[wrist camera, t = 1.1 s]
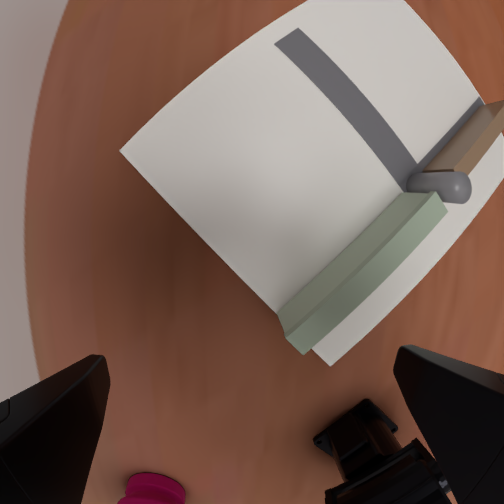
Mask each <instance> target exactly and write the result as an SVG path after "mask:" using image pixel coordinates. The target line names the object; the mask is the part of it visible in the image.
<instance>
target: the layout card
mask: <svg viewBox="0 0 504 504" xmlns="http://www.w3.org/2000/svg"><path fill="white" fill-rule="evenodd" d="M503 129H504V100H502V101H498V102H494V103H490V104H486V105H485V103H484V102H483V100H482V98H481V97H480V95H479V94H478V92H477V91H476V89H475V87H474V86H473V84H472V83H471V82H470V80H469V79H468V77H467V76H466V74H465V73H464V71H463V70H462V69H461V67H460V66H459V65H458V63H457V62H456V60H455V59H454V58H453V56H452V55H451V54H450V53H449V51H448V50H447V49H446V47H445V46H444V45H443V44H442V42H441V41H440V40H439V39H438V38H437V36H436V35H435V34H434V33H433V32H432V30H431V29H430V28H429V27H428V26H427V25H426V24H425V22H424V21H423V20H422V19H421V18H420V17H419V16H418V15H417V14H416V12H415V11H414V10H413V9H412V8H411V7H410V6H409V5H408V4H407V3H406V2H405V1H404V0H308V1H306V2H304V3H303V4H301V5H299V6H298V7H296V8H294V9H293V10H291V11H289V12H288V13H286V14H285V15H283V16H281V17H280V18H278V19H277V20H275V21H274V22H272V23H271V24H269V25H268V26H266V27H265V28H263V29H262V30H260V31H259V32H257V33H256V34H254V35H253V36H251V37H250V38H249V39H247V40H246V41H244V42H243V43H242V44H240V45H239V46H237V47H236V48H235V49H233V50H232V51H231V52H229V53H228V54H227V55H225V56H224V57H223V58H221V59H220V60H219V61H218V62H216V63H215V64H214V65H213V66H211V67H210V68H209V69H208V70H206V71H205V72H204V73H203V74H201V75H200V76H199V77H198V78H196V79H195V80H194V81H193V82H192V83H191V84H189V85H188V86H187V87H186V88H185V89H183V90H182V91H181V92H180V93H179V94H178V95H177V96H175V97H174V98H173V99H172V100H171V101H170V102H169V103H168V104H167V105H165V106H164V107H163V108H162V109H161V110H160V111H159V112H158V113H157V114H156V115H155V116H154V117H153V118H152V119H150V120H149V121H148V122H147V123H146V124H145V125H144V126H143V127H142V128H141V129H140V130H139V131H138V132H137V133H136V134H135V135H134V136H133V137H132V138H131V139H130V140H129V141H128V142H127V143H126V144H125V145H124V146H123V147H122V149H121V150H120V152H121V153H122V154H123V155H124V156H125V158H126V159H127V160H128V161H129V162H130V163H131V164H132V165H133V166H134V167H135V168H136V169H137V170H138V172H139V173H140V174H141V175H142V176H143V177H144V178H145V179H146V180H147V181H148V182H149V183H150V184H151V185H152V187H153V188H154V189H155V190H156V191H157V192H158V193H159V194H160V195H161V196H162V197H163V198H164V199H165V200H166V201H167V202H168V203H169V205H170V206H171V207H172V208H173V209H174V210H175V211H176V212H177V213H178V214H179V215H180V216H181V217H182V218H183V219H184V220H185V221H186V222H187V223H188V224H189V225H190V227H191V228H192V229H193V230H194V231H195V232H196V233H197V234H198V235H199V236H200V237H201V238H202V239H203V240H204V241H205V242H206V243H207V244H208V245H209V246H210V247H211V248H212V249H213V250H214V251H215V252H216V253H217V254H218V255H219V256H220V257H221V259H222V260H223V261H224V262H225V263H226V264H227V265H228V266H229V267H230V268H231V269H232V270H233V271H234V272H235V273H236V274H237V275H238V276H239V277H240V278H241V279H242V280H243V281H244V282H245V283H246V284H247V285H248V286H249V287H250V288H251V289H252V290H253V291H254V292H255V293H256V294H257V295H258V296H259V297H260V298H261V299H262V300H263V301H264V302H265V303H266V304H267V305H268V306H269V307H270V308H271V309H272V310H273V311H274V312H275V313H276V314H277V312H278V311H279V310H281V309H282V308H283V307H284V306H285V305H286V304H287V303H288V302H289V301H291V300H292V299H293V298H294V297H295V296H296V295H297V294H298V293H299V292H301V291H302V290H303V289H304V288H305V287H306V286H307V285H308V284H309V283H310V282H311V281H313V280H314V279H315V278H316V277H317V276H318V275H319V274H320V273H321V272H322V271H323V270H324V269H325V268H326V267H328V266H329V265H330V264H331V263H332V262H333V261H334V260H335V259H336V258H337V257H338V256H339V255H340V254H341V253H342V252H343V251H344V250H345V249H346V248H347V247H349V246H350V245H351V244H352V243H353V242H354V241H355V240H356V239H357V238H358V237H359V236H360V235H361V234H362V233H363V232H364V231H365V230H366V229H367V228H368V227H369V226H370V225H371V224H372V223H373V222H374V221H375V220H376V219H377V218H378V217H379V216H380V215H381V214H382V213H383V212H384V211H385V210H386V209H387V208H388V207H389V206H390V205H391V204H392V203H393V202H394V201H395V200H396V199H397V198H398V197H399V196H400V195H401V194H402V193H403V192H407V193H429V192H430V191H436V192H437V194H438V195H439V197H440V199H441V200H442V202H443V204H444V205H445V207H446V209H447V210H448V212H447V214H446V215H445V216H444V217H443V218H442V219H441V221H440V222H439V223H438V224H437V225H436V226H435V227H434V229H433V230H432V231H431V232H430V233H429V234H428V235H427V236H426V238H425V239H424V240H423V241H422V242H421V243H420V244H419V245H418V246H417V247H416V248H415V250H414V251H413V252H412V253H411V254H410V255H409V256H408V257H407V258H406V259H405V260H404V261H403V262H402V263H401V264H400V265H399V266H398V267H397V268H396V269H395V270H394V272H393V273H392V274H391V275H390V276H389V277H388V278H387V279H386V280H385V281H384V282H383V283H382V284H381V285H380V286H379V287H378V288H377V289H376V290H375V291H373V292H372V293H371V294H370V295H369V296H368V297H367V298H366V299H365V300H364V301H363V302H362V303H361V304H360V305H359V306H358V307H357V308H356V309H355V310H354V311H353V312H351V313H350V314H349V315H348V316H347V317H346V318H345V319H344V320H343V321H342V322H341V323H340V324H338V325H337V326H336V327H335V328H334V329H333V330H332V331H331V332H329V333H328V334H327V335H326V336H325V337H324V338H323V339H322V340H320V341H319V342H318V343H317V344H316V345H315V346H313V347H312V348H311V349H313V350H314V351H315V352H316V353H317V354H318V355H319V356H320V357H321V358H322V359H323V360H324V361H325V362H326V363H327V364H328V365H329V366H331V365H333V364H334V363H335V362H336V361H337V360H338V359H340V358H341V357H342V356H343V355H344V354H345V353H346V352H348V351H349V350H350V349H351V348H352V347H353V346H354V345H355V344H357V343H358V342H359V341H360V340H361V339H362V338H363V337H364V336H365V335H366V334H367V333H369V332H370V331H371V330H372V329H373V328H374V327H375V326H376V325H377V324H378V323H379V322H380V321H381V320H382V319H383V318H384V317H385V316H386V315H387V314H388V313H389V312H390V311H391V310H392V309H393V308H394V307H395V306H396V305H397V304H398V303H399V302H400V301H401V300H402V299H403V298H404V297H405V296H406V295H407V294H408V293H409V292H410V291H411V290H412V289H413V288H414V287H415V286H416V285H417V284H418V283H419V282H420V281H421V280H422V278H423V277H424V276H425V275H426V274H427V273H428V272H429V271H430V270H431V269H432V267H433V266H434V265H435V264H436V263H437V262H438V261H439V260H440V258H441V257H442V256H443V255H444V254H445V253H446V252H447V250H448V249H449V248H450V247H451V246H452V245H453V243H454V242H455V241H456V240H457V239H458V237H459V236H460V235H461V234H462V232H463V231H464V230H465V229H466V227H467V226H468V225H469V224H470V222H471V221H472V220H473V219H474V217H475V216H476V215H477V214H478V212H479V211H480V210H481V208H482V207H483V206H484V204H485V203H486V202H487V200H488V199H489V198H490V196H491V195H492V193H493V192H494V191H495V189H496V188H497V186H498V185H499V184H500V182H501V181H502V179H503V178H504V136H503V135H502V133H501V132H502V130H503Z"/></svg>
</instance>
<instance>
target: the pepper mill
mask: <svg viewBox="0 0 504 504" xmlns="http://www.w3.org/2000/svg"><path fill="white" fill-rule="evenodd" d="M125 494H126V496H125V497H123V498H122V499H121V500H120V501H119V502H118V503H117V504H185V491H184V489H183V487H182V486H181V485H180V484H179V483H178V482H176V481H174V480H172V479H171V478H168V477H166V476H163V475H159V474H155V473H140V474H136V475H134V476H132V477H131V478H130V479H129V481H128V484H127V487H126V491H125Z"/></svg>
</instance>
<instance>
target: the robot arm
mask: <svg viewBox="0 0 504 504" xmlns="http://www.w3.org/2000/svg"><path fill="white" fill-rule="evenodd" d="M393 372H394V376H395V378H396V380H397V383H398V385H399V387H400V390H401V392H402V395H403V397H404V399H405V402H406V404H407V406H408V409H409V410H410V412H411V414H412V416H413V418H414V420H415V422H416V423H417V425H418V427H419V429H420V431H421V433H422V435H423V436H424V438H425V440H426V442H427V444H428V446H429V448H430V450H431V451H432V453H433V455H434V457H435V459H436V460H435V459H434V458H433V457H432V455H431V454H430V453H429V452H428V451H427V449H426V448H425V447H424V446H423V445H422V444H421V442H420V441H419V440H418V439H417V438H415V439H414V440H412V441H411V443H410V444H408V445H407V446H405V447H404V448H402V447H401V446H400V444H399V442H398V441H397V439H396V438H395V436H394V435H393V434H394V433H395V432H396V431H397V430H398V427H397V425H396V424H395V423H394V422H393V421H392V420H391V419H389V418H388V417H387V416H386V415H385V414H384V413H383V412H382V411H381V410H380V409H379V408H378V407H377V406H376V405H375V404H374V403H373V402H372V401H371V400H369V399H366V400H364V401H362V402H361V403H360V404H359V405H357V406H356V407H355V408H354V409H352V410H351V411H350V412H348V413H347V414H346V415H345V416H343V417H342V418H341V419H339V420H338V421H337V422H335V423H334V424H333V425H331V426H330V427H329V428H327V429H326V430H325V431H323V432H322V433H320V434H319V435H318V436H316V437H315V438H314V439H313V442H314V445H316V446H317V447H318V448H320V449H321V450H323V451H324V452H326V453H328V454H329V455H331V456H332V457H334V459H335V461H336V464H337V466H338V469H339V471H340V474H341V476H342V479H343V481H344V483H342V484H340V485H338V486H336V487H334V488H332V489H331V488H330V489H328V490H326V491H325V497H326V498H325V504H452V503H451V502H450V500H449V498H448V497H447V495H446V494H447V493H448V492H450V491H452V493H453V495H454V497H455V499H456V501H457V503H458V504H504V375H503V374H500V373H496V372H493V371H490V370H487V369H484V368H481V367H478V366H475V365H471V364H468V363H465V362H462V361H459V360H456V359H453V358H450V357H447V356H444V355H441V354H438V353H435V352H432V351H429V350H426V349H423V348H420V347H417V346H414V345H404V346H401V347H400V348H399V349H398V352H397V356H396V360H395V364H394V368H393ZM109 389H110V376H109V371H108V367H107V362H106V359H105V357H104V356H103V355H94V354H92V355H89V356H87V357H85V358H84V359H82V360H80V361H78V362H76V363H74V364H72V365H71V366H69V367H67V368H65V369H63V370H61V371H59V372H58V373H56V374H54V375H52V376H50V377H48V378H46V379H44V380H43V381H41V382H39V383H37V384H35V385H33V386H31V387H30V388H27V389H26V390H24V391H22V392H20V393H18V394H16V395H14V396H12V397H10V400H9V399H6V400H5V401H3V402H1V403H0V504H81V502H82V498H83V494H84V490H85V486H86V482H87V479H88V475H89V471H90V468H91V464H92V461H93V457H94V454H95V450H96V447H97V443H98V440H99V437H100V433H101V430H102V426H103V421H104V416H105V410H106V405H107V399H108V394H109ZM366 404H367V405H366ZM365 405H366V406H365ZM319 440H320V441H319Z"/></svg>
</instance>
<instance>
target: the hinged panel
mask: <svg viewBox="0 0 504 504" xmlns="http://www.w3.org/2000/svg"><path fill="white" fill-rule="evenodd" d="M447 212H448V210H447V209H446V207H445V205H444V204H443V202H442V200H441V199H440V197H439V195H438V194H437V192H436V191H430V192H429V193H407V192H403V193H402V194H401V195H400V196H399V197H398V198H397V199H396V200H395V201H394V202H393V203H392V204H391V205H390V206H389V207H388V208H387V209H386V210H385V211H384V212H383V213H382V214H381V215H380V216H379V217H378V218H377V219H376V220H375V221H374V222H373V223H372V224H371V225H370V226H369V227H368V228H367V229H366V230H365V231H364V232H363V233H362V234H361V235H360V236H359V237H358V238H357V239H356V240H355V241H354V242H353V243H352V244H351V245H350V246H349V247H347V248H346V249H345V250H344V251H343V252H342V253H341V254H340V255H339V256H338V257H337V258H336V259H335V260H334V261H333V262H332V263H331V264H330V265H329V266H328V267H326V268H325V269H324V270H323V271H322V272H321V273H320V274H319V275H318V276H317V277H316V278H315V279H314V280H313V281H311V282H310V283H309V284H308V285H307V286H306V287H305V288H304V289H303V290H302V291H301V292H299V293H298V294H297V295H296V296H295V297H294V298H293V299H292V300H291V301H289V302H288V303H287V304H286V305H285V306H284V307H283V308H282V309H281V310H279V311H278V312H277V315H278V318H279V320H280V323H281V325H282V328H283V330H284V333H285V334H284V336H285V338H286V339H287V340H288V341H289V342H290V343H291V344H292V345H293V346H294V347H295V348H296V349H297V350H298V351H299V352H300V353H301V354H302V355H304V354H305V353H306V352H308V351H309V350H310V349H311V348H312V347H313V346H315V345H316V344H317V343H318V342H319V341H320V340H322V339H323V338H324V337H325V336H326V335H327V334H328V333H329V332H331V331H332V330H333V329H334V328H335V327H336V326H337V325H338V324H340V323H341V322H342V321H343V320H344V319H345V318H346V317H347V316H348V315H349V314H350V313H351V312H353V311H354V310H355V309H356V308H357V307H358V306H359V305H360V304H361V303H362V302H363V301H364V300H365V299H366V298H367V297H368V296H369V295H370V294H371V293H372V292H373V291H375V290H376V289H377V288H378V287H379V286H380V285H381V284H382V283H383V282H384V281H385V280H386V279H387V278H388V277H389V276H390V275H391V274H392V273H393V272H394V270H395V269H396V268H397V267H398V266H399V265H400V264H401V263H402V262H403V261H404V260H405V259H406V258H407V257H408V256H409V255H410V254H411V253H412V252H413V251H414V250H415V248H416V247H417V246H418V245H419V244H420V243H421V242H422V241H423V240H424V239H425V238H426V236H427V235H428V234H429V233H430V232H431V231H432V230H433V229H434V227H435V226H436V225H437V224H438V223H439V222H440V221H441V219H442V218H443V217H444V216H445V215H446V214H447Z"/></svg>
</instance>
